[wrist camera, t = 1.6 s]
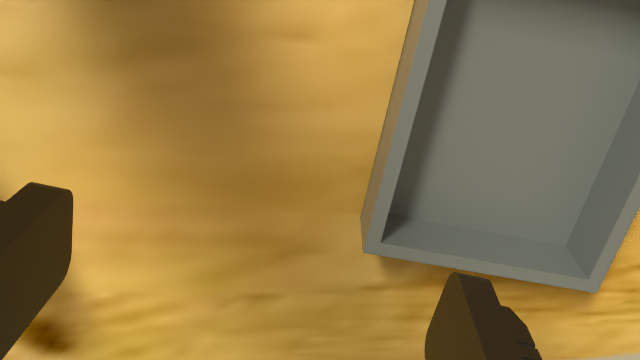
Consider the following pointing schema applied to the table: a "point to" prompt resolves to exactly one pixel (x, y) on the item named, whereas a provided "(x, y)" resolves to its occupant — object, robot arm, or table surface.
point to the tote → (511, 140)
